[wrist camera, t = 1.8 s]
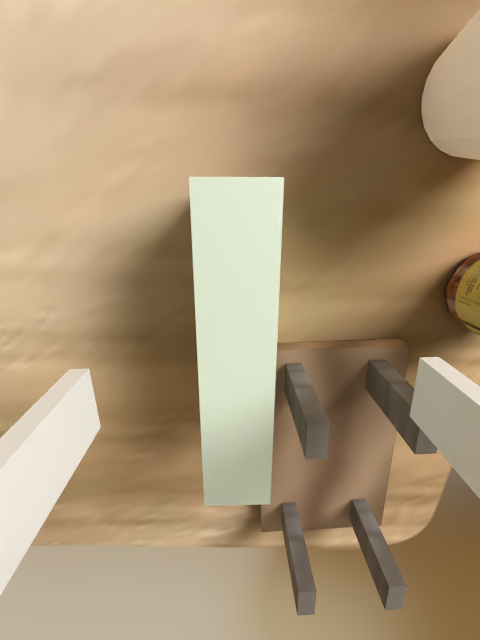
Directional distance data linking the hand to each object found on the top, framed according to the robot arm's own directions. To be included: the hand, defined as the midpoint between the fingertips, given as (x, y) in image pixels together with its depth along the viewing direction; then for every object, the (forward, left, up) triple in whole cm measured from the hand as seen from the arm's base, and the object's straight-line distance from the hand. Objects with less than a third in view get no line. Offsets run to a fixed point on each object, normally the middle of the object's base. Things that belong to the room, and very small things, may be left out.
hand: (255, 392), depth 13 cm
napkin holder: (+7, -12, -12) cm, 18 cm away
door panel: (-1, 0, -12) cm, 12 cm away
